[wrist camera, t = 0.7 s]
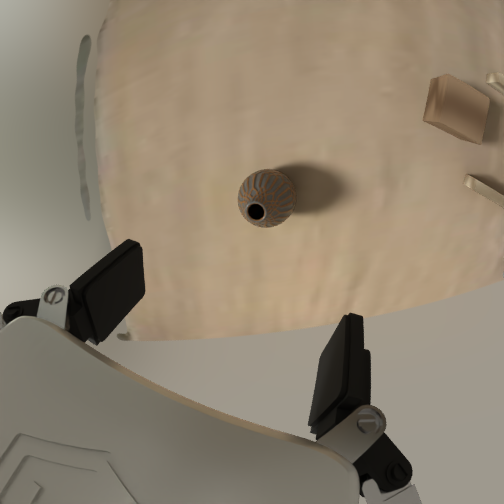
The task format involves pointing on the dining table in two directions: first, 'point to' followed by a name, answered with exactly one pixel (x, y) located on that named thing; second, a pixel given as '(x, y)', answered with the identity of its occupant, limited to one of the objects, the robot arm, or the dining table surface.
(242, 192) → the vase
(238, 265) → the dining table surface
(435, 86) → the walnut block
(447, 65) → the dining table surface
